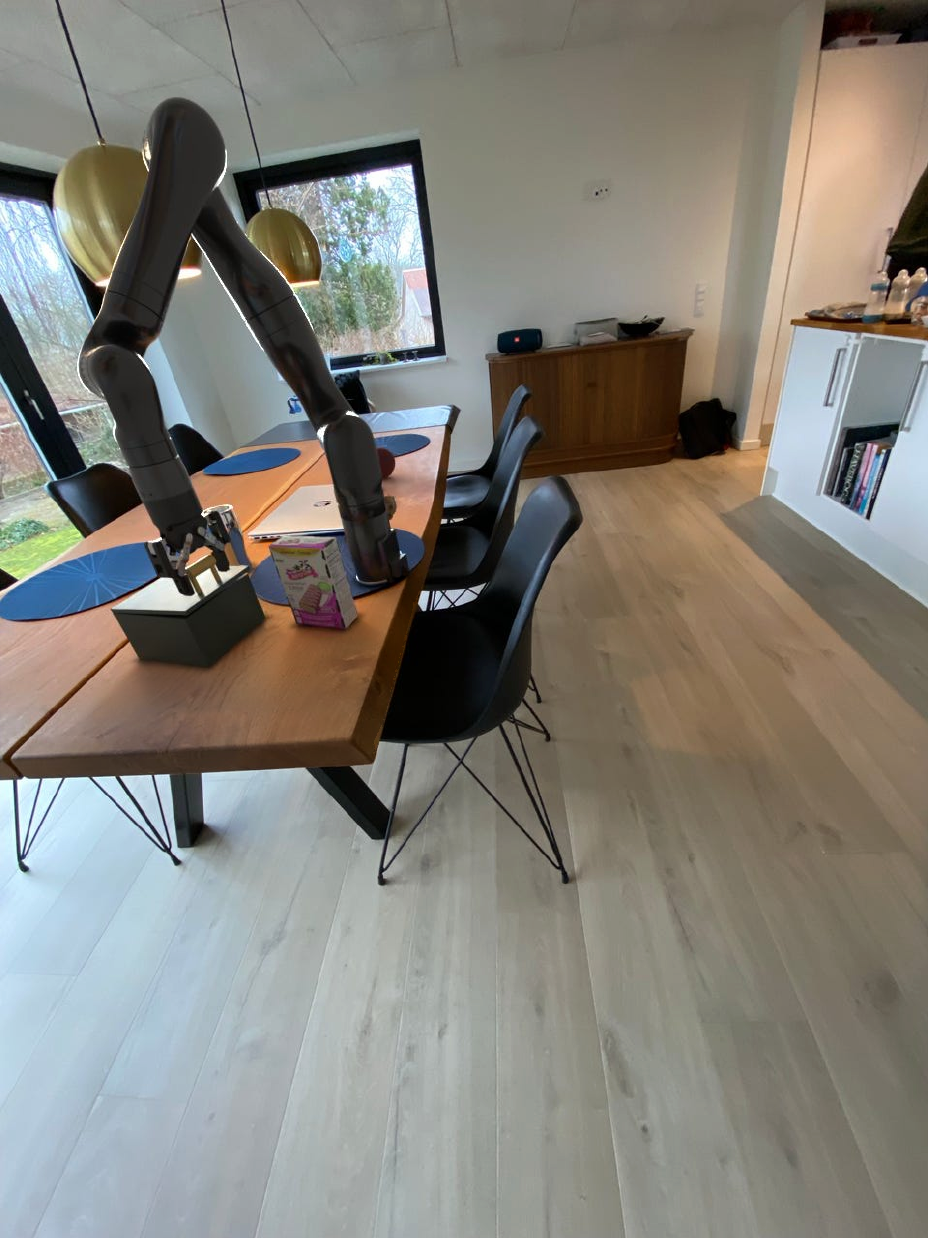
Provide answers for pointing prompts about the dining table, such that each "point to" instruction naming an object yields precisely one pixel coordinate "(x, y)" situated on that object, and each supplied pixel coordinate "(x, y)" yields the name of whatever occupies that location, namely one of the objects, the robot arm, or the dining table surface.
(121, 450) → the robot arm
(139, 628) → the open lidded box
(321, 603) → the candy bar box
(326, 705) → the dining table surface
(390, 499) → the lion figurine
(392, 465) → the decorative ball
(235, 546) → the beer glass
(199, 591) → the lid
